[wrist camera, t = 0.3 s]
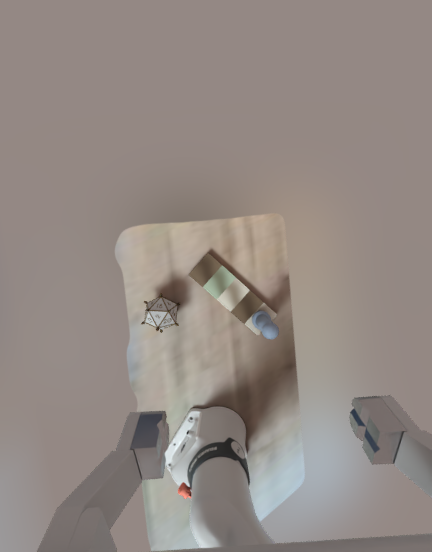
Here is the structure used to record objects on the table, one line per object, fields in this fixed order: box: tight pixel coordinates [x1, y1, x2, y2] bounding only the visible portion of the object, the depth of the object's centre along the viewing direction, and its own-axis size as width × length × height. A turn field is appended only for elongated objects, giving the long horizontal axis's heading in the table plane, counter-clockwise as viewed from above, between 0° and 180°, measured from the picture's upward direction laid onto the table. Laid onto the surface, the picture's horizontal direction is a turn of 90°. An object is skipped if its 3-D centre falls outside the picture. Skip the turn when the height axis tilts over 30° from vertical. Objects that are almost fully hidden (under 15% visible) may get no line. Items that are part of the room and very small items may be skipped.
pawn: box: [252, 310, 279, 339], centre depth 55 cm, size 4×4×11 cm
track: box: [189, 253, 277, 336], centre depth 60 cm, size 7×22×1 cm, turn 48°
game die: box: [141, 293, 180, 333], centre depth 57 cm, size 9×8×10 cm
